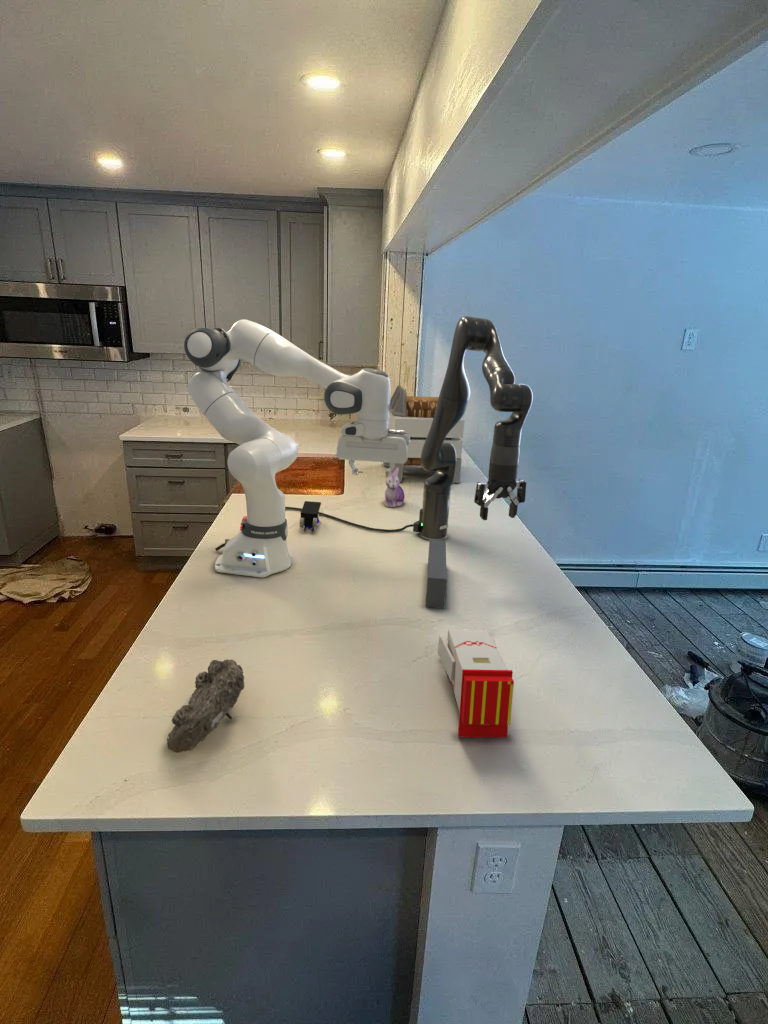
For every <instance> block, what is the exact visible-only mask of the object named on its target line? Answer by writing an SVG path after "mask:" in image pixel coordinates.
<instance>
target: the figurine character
mask: <svg viewBox="0 0 768 1024" xmlns="http://www.w3.org/2000/svg"><path fill="white" fill-rule="evenodd" d="M321 506H322V502H321V501H310V500H309V501H308V500H304V502H303V504H302V507H301V508H302V510H300V520H299V528H301V529H303V532H304V533H305V532H306V531H307V529H311V533H313V532H315V529H317V528H318V525H319V523H320V522H321V520H320V514H319V512H320V509H321Z"/></svg>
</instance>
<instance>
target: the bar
mask: <svg viewBox="0 0 768 1024" xmlns="http://www.w3.org/2000/svg"><path fill="white" fill-rule="evenodd" d="M447 576H448V575H447V541H446V540H429V543H428V557H427V571H426V592H425V608H435V609H436V608H437V609H445V604H446V603H445V601H446V591H447Z"/></svg>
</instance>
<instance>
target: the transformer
mask: <svg viewBox="0 0 768 1024" xmlns="http://www.w3.org/2000/svg"><path fill="white" fill-rule="evenodd" d="M407 394H408V393H407V390H406V389H404V388H403V387H402V385H399V384H398V385H397V386H396V388H395V390H394V392H393V394H392V395H391V397H390V405H389V410H388V412H389V417H390V419H389V429H391V430H404V431H405V432H407V433H408V434H409V435H410V443H409V445H408V446H407V448H408V459H407V461H406V462H405V463H404V464H402V463H395V466H394V468H393V470H392V472H394V470H395V469H396V468H397V467H398V468H399V471H398V475H397V476H398V479H399V481H400V483H402V482H403V475H404V469H405V466H406V467H407V466H411V467H412V466H413V467H415V466H416V467H417V466H418V467H422V465H421V452H422V448H423V446H424V443H425V440H426V438H427V435H428V433H429V430H430V427H431V424H432V421H433V418H434V414H435V411H436V407H437V403H438V399H439V396H415V395H414V396H413V395H412V396H411V395H407ZM464 429H465V419H464V418H463V417H462V418H461V419H460V420H459V422H458V423H457V424H456V425H455V426H454V427H453V428H452V429H451V430H450V432H449V433H448V434H447V436H446V437H445V439H444V442H443V443H451V444H452V445H453V446H454V448H455V450H456V467H455V474H454V481H453V484H455V483H456V484H459V483H461V472H462V461H463V460H462V453H463V442H464V441H463V440H462V439H463V438H464V431H465V430H464ZM405 434H406V433H405ZM382 463H383V466H384V467H388V468H390V467H391V466H390V463H387V462H382Z"/></svg>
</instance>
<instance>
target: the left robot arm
mask: <svg viewBox="0 0 768 1024" xmlns="http://www.w3.org/2000/svg"><path fill="white" fill-rule="evenodd" d="M183 348H184V352H185V355H186V357H187V358H188V360H189V361H190V362H191V363H192V364H193V365H195V366H197V370H196V372H195V374H193V375H192V376H191V377H190V379H189V381H188V383H187V390H188V393H189V395H190V397H191V398H192V401H193V402H194V404H195V405H196V407H197V408H198V410H199V411H200V413H201V414H202V415H203V416H204V417H205V418H206V420H207V421H208V423H210V424H211V426H212V427H213V428H214V429H215V430H216V431H217V433H218V434H219V435H220V436H221V437H222V438H223V439H225V440H226V441H229V442H233V443H235V444H237V445H238V446H236V447H235V448H234V449H233V450H231V451H230V453H229V455H228V457H227V469H228V472H229V473H230V475H231V476H232V477H233V478H234V479H235V480H237V481H238V482H239V483H240V486H241V487H242V490H243V492H244V496H245V504H246V515H244V516H243V517H242V519H241V522H240V526H239V532H238V533H237V534H234V536H233V537H231V538H226V539H224V543H221V544H220V545H218V546H217V547H215V548H214V550H215V551H216V552H218V551H220V550H221V549H223V550H222V553H221V554H220V555H219V556H218V557H217V558H216V560H215V562H214V570H215V571H216V572H217V573H222V574H231V575H237V576H238V575H239V576H246V577H252V578H253V577H254V578H262V579H263V578H266V577H268V576H269V577H270V575H274V574H277V573H281V572H283V571H285V570H287V569H290V567H291V566H292V563H293V562H292V559H291V556H290V552H289V547H288V539H287V538H288V520H287V519H286V509H285V507H286V496H285V494H284V492H283V491H282V490H280V489H279V488H278V485H277V482H276V474H277V473H280V472H282V471H284V470H286V469H288V468H289V467H290V466H291V465H292V464H293V463H294V462H295V461H296V460H297V458H298V456H299V448H298V447H299V446H298V444H297V442H296V441H295V439H294V438H293V437H292V436H291V435H289V434H286V433H284V432H281V431H279V430H278V429H276V428H274V427H272V426H271V425H270V424H268V423H267V422H265V421H264V420H263V419H262V418H260V417H259V416H257V414H256V413H255V412H254V411H252V410H251V409H250V407H249V406H248V405H247V404H246V402H245V401H243V400H242V398H241V397H240V396H239V395H238V394H237V392H236V391H235V390H234V388H232V387H231V386H230V384H229V383H228V382H230V381H231V380H232V378H233V377H234V376H235V374H236V373H237V372H238V370H239V369H240V367H241V364H242V361H245V362H247V363H249V364H250V365H252V366H253V367H255V368H256V369H259V370H260V371H262V372H263V373H267V374H269V375H272V376H275V377H279V378H300V379H301V378H302V379H305V380H308V381H311V382H313V383H315V384H317V385H318V386H320V387H322V388H324V389H325V390H324V395H323V399H324V404H325V406H326V407H327V408H326V409H328V410H329V411H330V412H331V413H333V414H334V415H340V416H345V415H346V416H347V415H352V414H356V415H357V420H356V421H350V422H347V423H345V424H344V425H342V427H341V430H340V432H341V435H340V437H339V438H338V441H337V446H336V457H337V459H338V460H340V461H341V460H342V461H343V460H344V461H348V465H349V467H350V469H351V470H352V471H351V472H352V476H358V475H359V468H358V467H356V466H355V462H356V461H357V462H371V463H372V462H373V463H384V462H387V463H390V466H391V467H389V468H390V469H389V470H388V469H386V470H385V471H384V478H386V479H387V478H390V476H391V471H392V470H393V468H394V466H395V463H402V464H404V463H405V462H406V461H407V459H408V448H407V446H408V445H409V443H410V435H409V434H408V433H407V432H405V431H404V430H391V429H389V419H390V417H389V412H388V410H389V405H390V400H391V396H392V395H391V394H392V393H391V381H390V377H389V375H388V374H387V372H385V371H384V370H380V369H378V368H373V367H372V368H371V367H363V368H362V369H361V370H360V371H358V372H355V373H353V374H351V373H350V374H349V373H346V372H342V371H341V370H338V369H337V368H335V367H333V366H331V365H329V364H327V363H325V362H323V361H322V360H319V359H318V358H316V357H314V356H312V355H310V354H309V353H307V352H306V351H305V350H304V349H301V348H300V347H298V346H297V345H296V344H294V343H292V342H291V341H290V340H288V339H286V338H285V337H284V336H283V335H280V334H279V333H277V332H275V331H274V330H272V329H271V328H268V327H266V326H265V325H262V324H260V323H258V322H255V321H252V320H249V319H245V318H243V319H239V320H238V321H236V322H234V323H233V325H232V326H231V327H230V329H229V330H228V331H226V330H225V329H223V328H222V327H198V328H197V327H196V328H194V329H192V330H190V331H189V332H188V333H187V334H186V337H185V338H184V343H183ZM405 433H406V434H405Z"/></svg>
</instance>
